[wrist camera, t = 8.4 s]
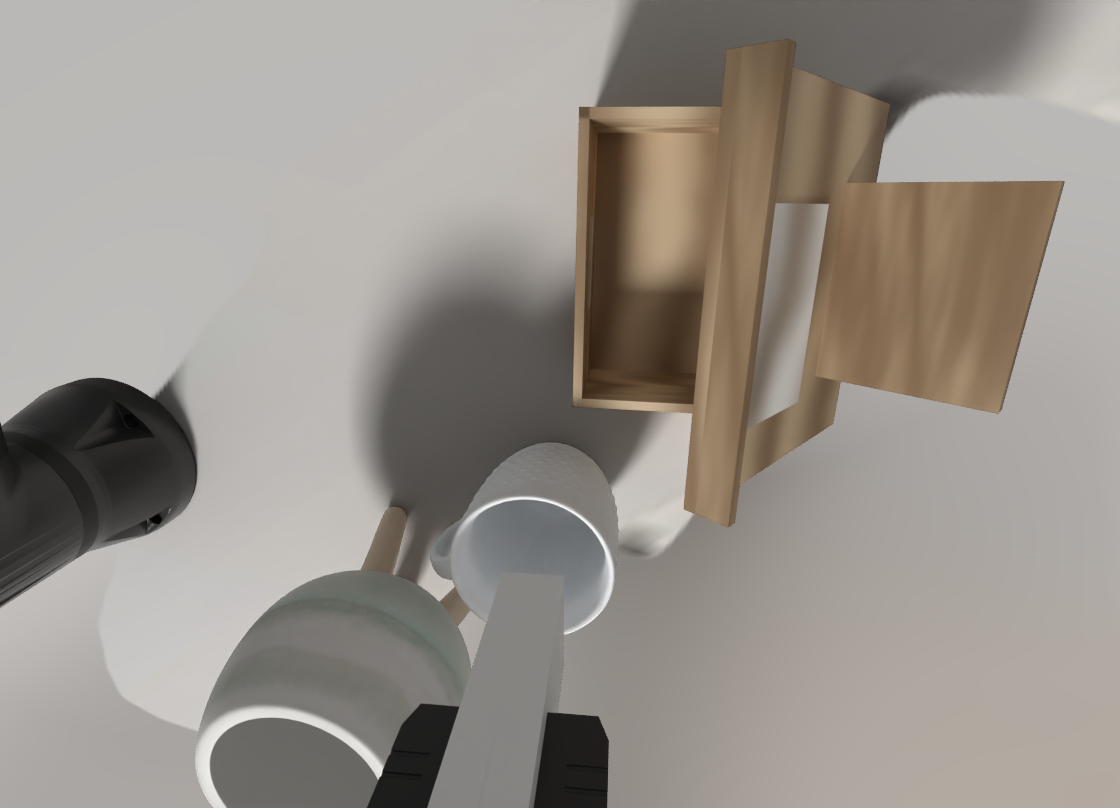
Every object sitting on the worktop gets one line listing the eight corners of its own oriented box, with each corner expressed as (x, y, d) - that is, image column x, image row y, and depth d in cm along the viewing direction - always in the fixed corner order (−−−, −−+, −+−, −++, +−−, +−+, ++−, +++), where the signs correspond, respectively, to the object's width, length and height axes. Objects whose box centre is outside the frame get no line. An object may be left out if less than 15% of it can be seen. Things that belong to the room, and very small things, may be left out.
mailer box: (582, 373, 47) (572, 406, 39) (589, 124, 41) (578, 107, 33) (791, 383, 45) (822, 420, 37) (830, 124, 39) (876, 106, 31)
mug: (485, 561, 54) (440, 668, 41) (433, 457, 51) (368, 538, 38) (640, 516, 50) (641, 618, 38) (593, 402, 47) (578, 472, 35)
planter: (361, 460, 52) (173, 637, 31) (534, 520, 52) (463, 740, 31) (331, 601, 57) (154, 832, 36) (486, 656, 57) (399, 920, 36)
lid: (683, 509, 26) (905, 601, 20) (726, 49, 20) (1056, -9, 14) (823, 421, 37) (994, 464, 31) (877, 105, 31) (1101, 85, 25)
